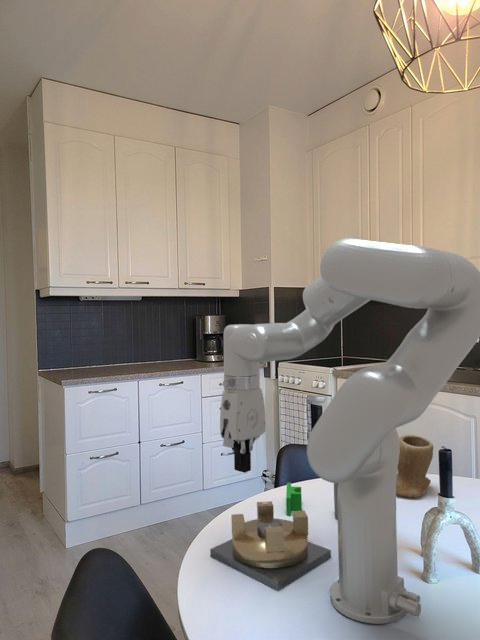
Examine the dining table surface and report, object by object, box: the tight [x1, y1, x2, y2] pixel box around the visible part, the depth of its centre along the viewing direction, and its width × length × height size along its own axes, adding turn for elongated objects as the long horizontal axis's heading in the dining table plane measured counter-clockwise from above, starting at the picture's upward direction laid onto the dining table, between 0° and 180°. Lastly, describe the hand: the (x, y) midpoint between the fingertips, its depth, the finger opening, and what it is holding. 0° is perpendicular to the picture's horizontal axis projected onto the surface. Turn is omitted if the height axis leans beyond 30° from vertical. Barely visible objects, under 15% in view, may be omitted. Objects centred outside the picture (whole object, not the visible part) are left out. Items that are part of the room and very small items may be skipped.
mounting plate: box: [209, 539, 332, 592], centre depth 95 cm, size 18×16×2 cm
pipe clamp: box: [285, 482, 303, 517], centre depth 121 cm, size 11×4×5 cm, turn 173°
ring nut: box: [231, 500, 309, 568], centre depth 95 cm, size 15×15×7 cm
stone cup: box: [396, 434, 434, 498], centre depth 130 cm, size 15×12×15 cm
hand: (242, 470), depth 100 cm, fingers closed
